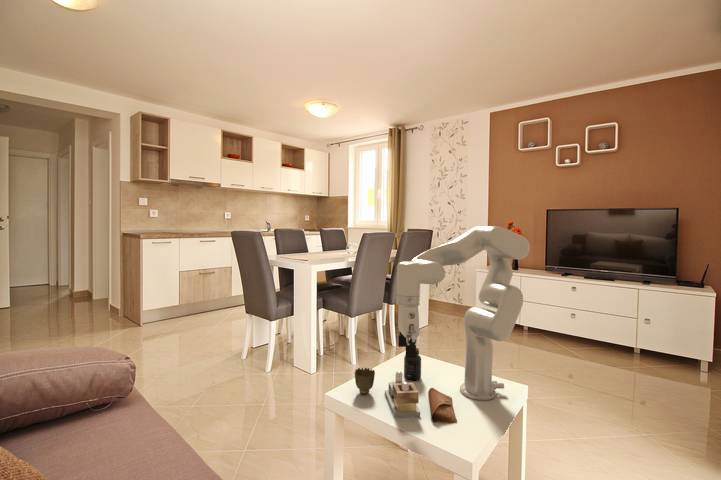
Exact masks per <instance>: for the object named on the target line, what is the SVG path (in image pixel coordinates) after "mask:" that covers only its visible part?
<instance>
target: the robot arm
mask: <svg viewBox="0 0 721 480" xmlns="http://www.w3.org/2000/svg"><path fill="white" fill-rule="evenodd" d="M530 249H531V246H530V242H529V240H528V239H527V238H526V237H525V236H523V235H522V234H518V233H516V232H514V231H511V230H509V229H506V228H505V227H502V226H497V225H478V226H477V225H476V226H475V227H472V228H471V229H469V230H468V231H466V232H465V233H463V234H461V235H460V236H458V237H456V238H455V239H454V240H452V241H450V242H446V243H444V244H441V245H438V246H436V247H432V248H429V249H428V250H425V251H424V252H422V253H420V254H418V255H417V256H415V257H414V258H413V259H411V260H410V261H401V262H398V264H397V267H396V303H395V304H396V305H398V309H397V310H398V312H397V313H398V314H397V328H398V338H397V339H398V342H397V344H398V347H399V348H405V355H406V357H407V358H411V357H416V348H417V338H418V337H420V313H419V312H420V311H419V306H420V305H421V304H420V299H421V298H420V297H421V295H420V294H421V285H425V284H426V285H437V284H439V283H441V282H442V281H443V280H444V279H445V275H446V269H445V268H444V266H455V265H460V264H464V263H466V262H467V261H469V260H470V259H472V258H473V257H475V256H476V255H478V254H479V253H481V252H482V251H486V254H487V257H488V261H489V268H488V271H487V274H486V276H485V279H484V281H483V283H482V285H481V288H480V290H479V293H478V300H479V302H480V303H481V304H482V305H484V306H486V307H489V308H493V309H496V311H493V310H490V309H487V308H484V307H478V306H473V307H470V308H468V309H467V310H466V312H465V314H464V316H463V325H464V332H465V355H464V357H465V359H464V383H462V384H460V386H459V392H460V393H461V394H462V395H463V396H466V397H467V398H470V399H473V400H477V401H491V400H492V399H494V398H496V394H497V391H496V390H497V389H505V384H504V383H503V382H498V381H497V380H493V379H492V378H493V356H494V355H493V354H494V345H493V341H496V342H504V341H505V340H507V339H508V338H509V337H510V335H511V334H512V332H513V330H514V328H515V325H516V323H517V320H518V318H519V315H520V313H521V310H522V308H523V305H524V304H523V303H524V295H523V291H522V290H521V289H520V288H519V287H517V286H516V285H512V284H511V280H512V278H513V276H514V275H513V274H514V273H513V267H512V264H511V261H510V260H523V259H525V258H526V257H527V256H528V255H529V253H530ZM492 340H493V341H492Z"/></svg>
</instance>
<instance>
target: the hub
mask: <svg viewBox="0 0 721 480" xmlns="http://www.w3.org/2000/svg"><path fill="white" fill-rule="evenodd" d="M403 382H404V383H403V384H402V391H409V384H408V383H409V382H405V381H403ZM394 404H395V407H396V409H397V411H398V412H416V405H417V403H408V404H397V403H396V400H395V398H394Z"/></svg>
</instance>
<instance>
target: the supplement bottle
mask: <svg viewBox="0 0 721 480" xmlns="http://www.w3.org/2000/svg"><path fill="white" fill-rule="evenodd" d="M419 354H420V349H419V348H418V347H416V357H411V358H407V357H406V354H405V355H404V357H403V358H404V359H403V360H404V361H403V378H404V379H405V380H406V381H408V382H412V383H414V382H419V381H420V380H421V378H422V357H421V356H420V355H419Z"/></svg>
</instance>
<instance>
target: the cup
mask: <svg viewBox="0 0 721 480" xmlns="http://www.w3.org/2000/svg"><path fill="white" fill-rule="evenodd" d="M375 375H376V371H375V370H374V369H372V368H369V367H368V368H367V367H365V368H364V367H362V368H359V367H358V368H356V369H355V370H354V379H355V380H354V381H355V385H356V388H357V389H358V390H359V391H358V392H359V393H360V395H368V394H369V393H370V390H371V389H372V388H373V386H374V383H375V382H374V381H375V377H376V376H375Z"/></svg>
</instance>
